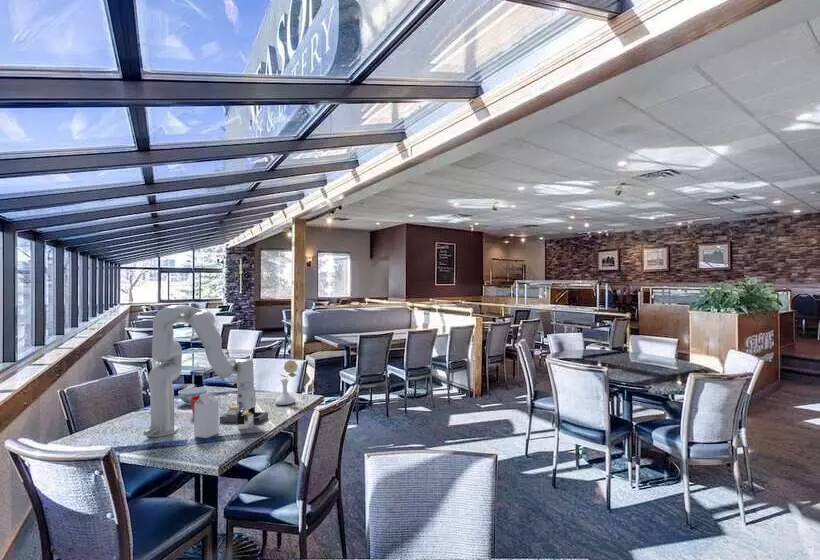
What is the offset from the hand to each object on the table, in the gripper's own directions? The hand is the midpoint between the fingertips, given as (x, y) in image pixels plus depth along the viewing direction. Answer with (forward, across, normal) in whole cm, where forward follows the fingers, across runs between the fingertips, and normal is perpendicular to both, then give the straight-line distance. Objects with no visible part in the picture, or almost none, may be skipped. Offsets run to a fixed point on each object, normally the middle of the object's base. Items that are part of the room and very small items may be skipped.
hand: (246, 420), depth 201 cm
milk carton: (+3, -11, +13) cm, 18 cm away
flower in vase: (+4, +41, -2) cm, 41 cm away
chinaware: (+3, +37, +54) cm, 66 cm away
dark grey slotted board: (+3, +10, +7) cm, 12 cm away
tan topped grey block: (+3, +10, +12) cm, 16 cm away
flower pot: (+3, +16, +34) cm, 38 cm away
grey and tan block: (+3, 0, 0) cm, 3 cm away
